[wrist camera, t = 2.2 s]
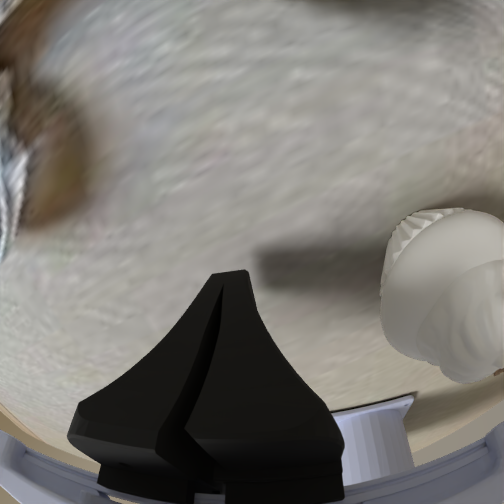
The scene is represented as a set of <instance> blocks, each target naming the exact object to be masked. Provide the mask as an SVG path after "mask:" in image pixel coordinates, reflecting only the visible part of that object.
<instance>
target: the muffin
mask: <svg viewBox="0 0 504 504" xmlns="http://www.w3.org/2000/svg"><path fill="white" fill-rule="evenodd" d="M380 283H381V288H380V294H379V295H380V297H382V298H381V306H380V316H381V323H382V327H383V331H384V334H385V336H386V338H387V340H388V342H389V343H390V344H391V345H392V346H393V347H394V348H395V349H396V350H397V351H399V352H400V353H402V354H404V355H406V356H408V357H410V358H413V359H417V360H421V361H427V362H428V363H430V364H432V365H435V366H440V369H441V371H442V373H443V374H444V375H445V376H446V377H448V378H449V379H451V380H453V381H455V382H458V383H465V384H466V383H472V382H477V381H481V380H482V379H484V378H486V377H487V376H490V375H492V374H493V373H494V372H495V371H496V370H498V369H503V368H504V223H503V222H502V221H501V220H500V219H498V218H497V217H495V216H493V215H491V214H488V213H485V212H481V211H473V210H472V209H467V210H464V208H447V209H432V210H421V211H419V212H414V213H413V214H412V215H411V216H407V217H406V219H405V220H401V223H400V224H399V225H397V226H396V230H394V231H393V232H392V237H391V238H390V239H389V240H388V246H387V248H386V254H385V260H384V266H383V271H382V277H381V282H380Z"/></svg>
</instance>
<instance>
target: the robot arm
mask: <svg viewBox="0 0 504 504" xmlns="http://www.w3.org/2000/svg"><path fill="white" fill-rule="evenodd" d="M413 401H414V397H413V395H409V396H405V397H402V398H398V399H394V400H391V401H387V402H383V403H379V404H375V405H370V406H366V407H362V408H357V409H352V410H347V411H342V412H336V413H330V411H329V409H328V408H327V406H326V404H325V402H324V401H323V400H322V399H321V398H320V397H319V396H318V395H317V394H316V393H315V392H314V391H313V390H312V389H311V388H310V387H309V386H308V385H307V384H306V383H305V382H304V381H303V379H302V378H301V377H300V376H299V375H298V374H297V373H296V371H295V370H294V369H293V367H292V366H291V365H290V363H289V362H288V361H287V360H286V358H285V357H284V356H283V354H282V353H281V351H280V350H279V348H278V347H277V345H276V344H275V342H274V341H273V339H272V337H271V336H270V334H269V332H268V331H267V329H266V327H265V325H264V323H263V321H262V319H261V317H260V315H259V313H258V311H257V307H256V302H255V298H254V294H253V289H252V285H251V281H250V276H249V272H248V271H246V270H237V271H230V272H223V273H215V274H212V275H211V276H210V278H209V279H208V280H207V282H206V283H205V285H204V286H203V288H202V289H201V291H200V292H199V293H198V295H197V296H196V298H195V299H194V301H193V302H192V303H191V305H190V306H189V307H188V309H187V310H186V312H185V313H184V314H183V316H182V317H181V318H180V319H179V320H178V322H177V323H176V324H175V325H174V327H173V328H172V329H171V330H170V331H169V333H168V334H167V335H166V336H165V337H164V338H163V339H162V340H161V341H160V342H159V343H158V344H157V345H156V346H155V347H154V348H153V349H152V350H151V351H150V352H149V353H148V354H147V355H146V356H145V357H143V358H142V359H141V360H140V361H139V362H138V363H137V364H135V365H134V366H133V367H132V368H131V369H129V370H128V371H127V372H126V373H124V374H123V375H122V376H120V377H119V378H118V379H116V380H115V381H113V382H112V383H110V384H109V385H108V386H106V387H104V388H103V389H101V390H100V391H98V392H96V393H95V394H93V395H91V396H89V397H88V398H86V399H84V400H83V401H81V402H79V404H78V406H77V409H76V411H75V414H74V417H73V420H72V423H71V425H70V428H69V431H68V434H67V438H68V440H69V442H70V443H71V444H72V445H73V446H74V447H75V448H77V449H78V450H80V451H81V452H83V453H84V454H86V455H87V456H89V457H90V458H92V459H93V460H95V461H97V462H98V463H100V464H101V467H100V471H99V474H96V473H93V472H90V471H86V470H83V469H80V468H77V467H74V466H72V465H68V464H66V463H64V462H61V461H58V460H56V459H53V458H51V457H49V456H46V455H44V454H42V453H39V452H37V451H35V450H33V449H30V448H28V447H26V445H25V444H23V443H22V442H21V441H19V440H17V439H16V438H15V437H13V436H11V435H10V434H8V433H6V432H4V431H2V430H0V486H1V487H2V488H3V489H5V490H6V491H7V492H8V493H9V494H10V495H12V496H13V497H14V498H15V499H16V500H17V501H18V502H19V503H21V504H121V503H118V502H115V501H112V500H110V498H109V497H108V495H109V496H112V497H116V498H120V499H123V500H127V501H131V502H135V503H140V504H502V503H503V502H504V421H503V422H501V423H500V424H498V425H497V426H496V427H494V428H493V429H492V430H491V431H490V432H488V433H487V435H486V436H485V437H484V438H482V439H480V440H478V441H476V442H474V443H472V444H470V445H468V446H466V447H464V448H462V449H459V450H457V451H455V452H453V453H450V454H448V455H446V456H443V457H441V458H438V459H436V460H433V461H431V462H428V463H425V464H423V465H420V466H417V467H414V462H413V458H412V454H411V450H410V446H409V442H408V438H407V434H406V431H405V427H404V424H403V418H404V416H405V415H406V413H407V411H408V410H409V408H410V406H411V404H412V403H413Z"/></svg>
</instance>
